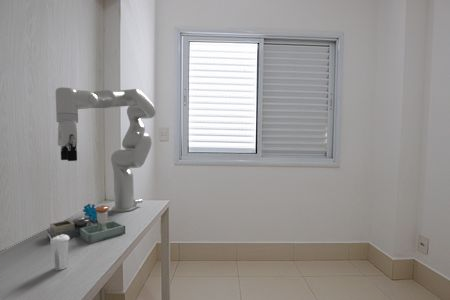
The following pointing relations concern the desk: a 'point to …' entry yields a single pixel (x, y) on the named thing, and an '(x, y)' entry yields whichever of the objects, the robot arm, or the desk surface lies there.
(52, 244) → the milkshake
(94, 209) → the gear
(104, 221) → the pin
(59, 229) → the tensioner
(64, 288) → the desk surface
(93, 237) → the tray
